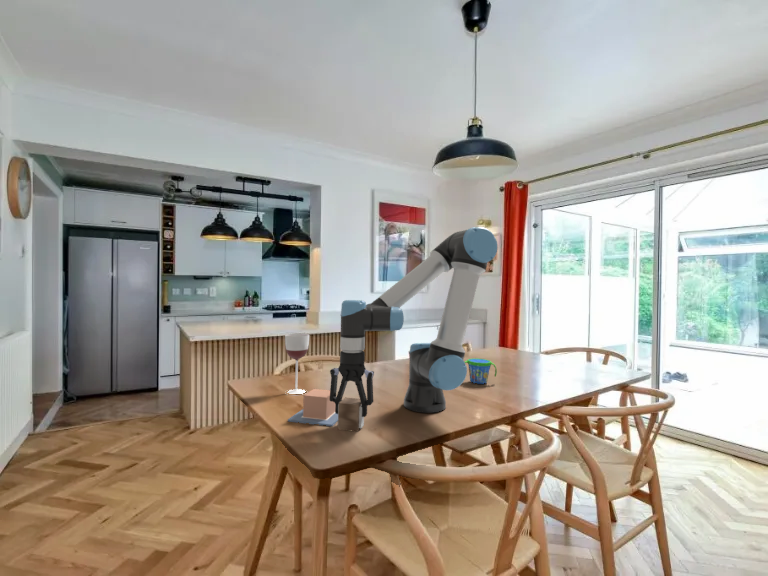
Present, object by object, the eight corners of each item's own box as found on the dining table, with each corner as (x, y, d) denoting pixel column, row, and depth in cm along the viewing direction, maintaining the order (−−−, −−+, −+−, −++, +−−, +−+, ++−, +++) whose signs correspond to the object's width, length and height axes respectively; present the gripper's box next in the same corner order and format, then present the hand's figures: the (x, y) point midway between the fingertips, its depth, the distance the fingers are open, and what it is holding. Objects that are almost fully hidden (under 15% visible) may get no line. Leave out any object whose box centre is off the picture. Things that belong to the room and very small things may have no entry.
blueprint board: (348, 411, 133) (348, 409, 133) (332, 426, 118) (332, 424, 118) (308, 406, 136) (308, 405, 136) (287, 421, 122) (287, 419, 122)
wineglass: (313, 391, 156) (314, 334, 156) (295, 396, 148) (297, 337, 147) (296, 387, 161) (297, 332, 161) (278, 393, 152) (279, 335, 152)
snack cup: (496, 381, 179) (496, 359, 179) (496, 387, 169) (497, 364, 169) (462, 378, 183) (462, 357, 183) (460, 383, 173) (460, 361, 173)
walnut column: (363, 424, 120) (363, 399, 120) (357, 431, 115) (357, 404, 114) (344, 422, 122) (345, 397, 122) (338, 429, 116) (338, 402, 116)
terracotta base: (335, 411, 130) (335, 390, 130) (326, 419, 122) (326, 397, 122) (313, 409, 132) (313, 388, 132) (303, 416, 124) (303, 395, 124)
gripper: (385, 350, 119) (383, 424, 119) (328, 346, 124) (326, 418, 124) (379, 354, 112) (377, 433, 112) (318, 350, 117) (317, 426, 117)
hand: (350, 425), depth 118 cm, fingers closed on walnut column, 6 cm apart
